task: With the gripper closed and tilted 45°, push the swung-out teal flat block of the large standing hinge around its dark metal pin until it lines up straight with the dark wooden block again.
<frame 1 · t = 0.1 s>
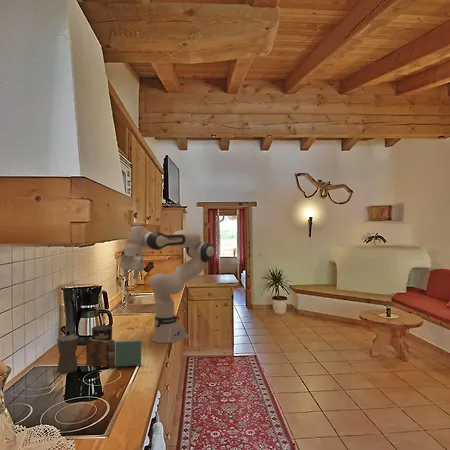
hand: (130, 278, 201), 39 cm above the countertop, tool pointing down, fingers open, 8 cm apart
coffee can: (101, 354, 190), on the countertop
teal flat block: (125, 353, 174), point 6 cm above the countertop, hinge at 30.0°
coffeepot: (68, 369, 170), on the countertop
dark wooden block: (111, 367, 173), on the countertop
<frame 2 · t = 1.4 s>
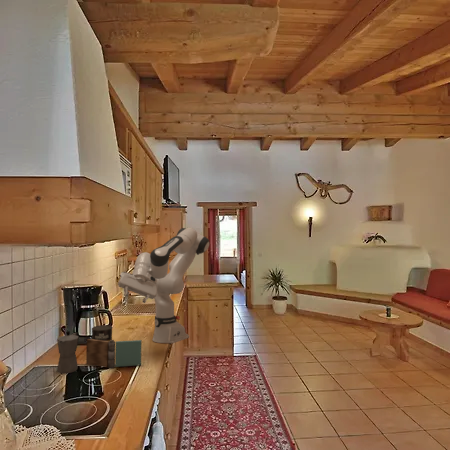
hand: (135, 298, 179), 32 cm above the countertop, tool tilted 50°, fingers open, 8 cm apart
nothing on the countertop moved.
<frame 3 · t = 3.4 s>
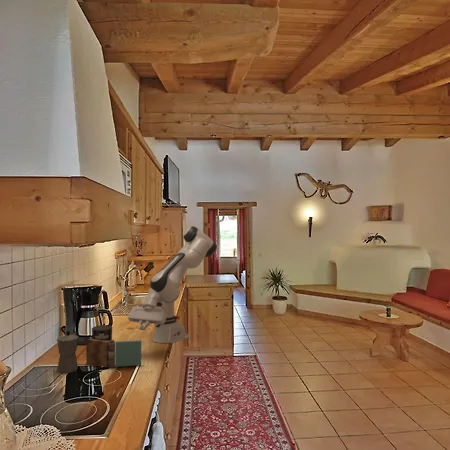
hand: (141, 329, 183), 16 cm above the countertop, tool tilted 45°, fingers closed
nothing on the countertop moved.
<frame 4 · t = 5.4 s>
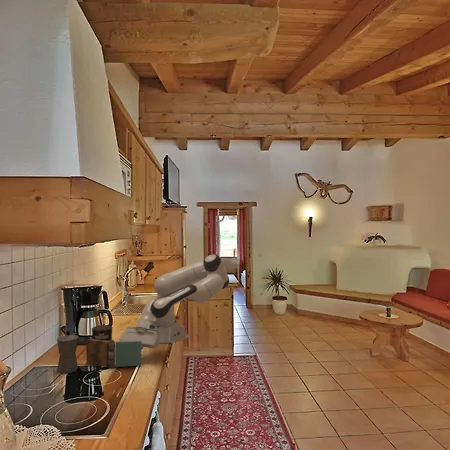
hand: (134, 353, 176), 5 cm above the countertop, tool tilted 45°, fingers closed
teal flat block: (124, 353, 174), point 6 cm above the countertop, hinge at 26.7°, touching gripper
everything else where it was.
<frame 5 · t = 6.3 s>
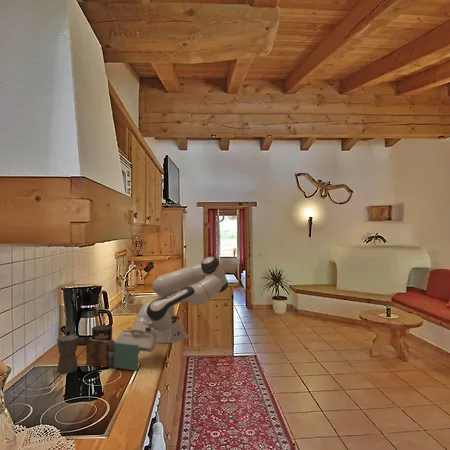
hand: (129, 357, 171), 5 cm above the countertop, tool tilted 45°, fingers closed on teal flat block, 2 cm apart
teal flat block: (122, 355, 171), point 6 cm above the countertop, hinge at 0.6°, touching gripper
everything else where it was.
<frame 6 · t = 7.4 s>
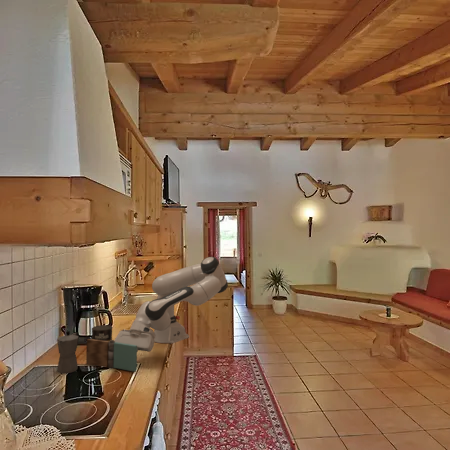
hand: (127, 357, 172), 5 cm above the countertop, tool tilted 45°, fingers closed
teal flat block: (122, 356, 170), point 6 cm above the countertop, hinge at -4.4°
everything else where it was.
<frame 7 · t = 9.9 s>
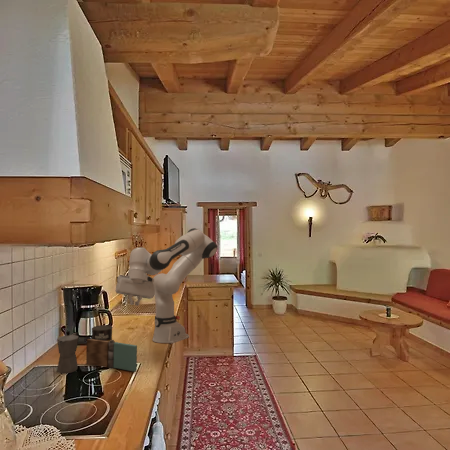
hand: (134, 304, 179), 29 cm above the countertop, tool tilted 25°, fingers closed
nothing on the countertop moved.
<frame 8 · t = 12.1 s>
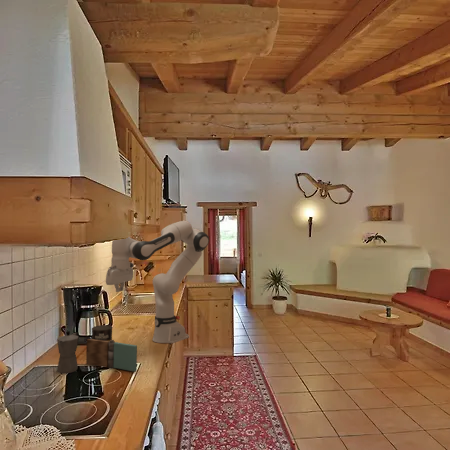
hand: (119, 291, 192), 33 cm above the countertop, tool pointing down, fingers closed
nothing on the countertop moved.
at the end: teal flat block at -4° (first picture: +30°); coffeepot moved 0.2 cm from its start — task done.
